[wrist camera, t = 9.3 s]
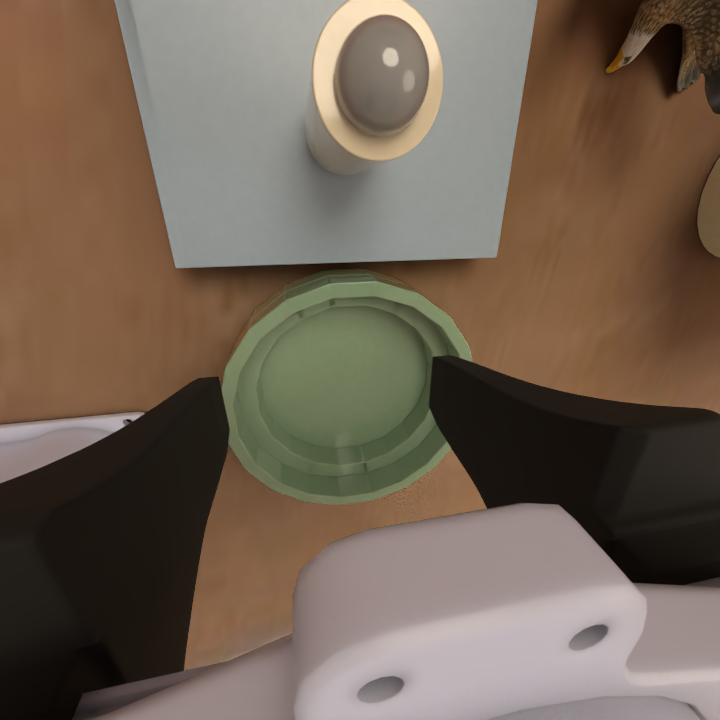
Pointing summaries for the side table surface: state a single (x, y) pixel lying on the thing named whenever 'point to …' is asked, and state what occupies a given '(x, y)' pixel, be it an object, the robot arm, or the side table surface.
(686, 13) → the eagle figurine
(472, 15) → the book
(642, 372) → the side table surface
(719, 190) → the reusable coffee cup
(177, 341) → the side table surface
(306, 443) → the bowl
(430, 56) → the shaker
